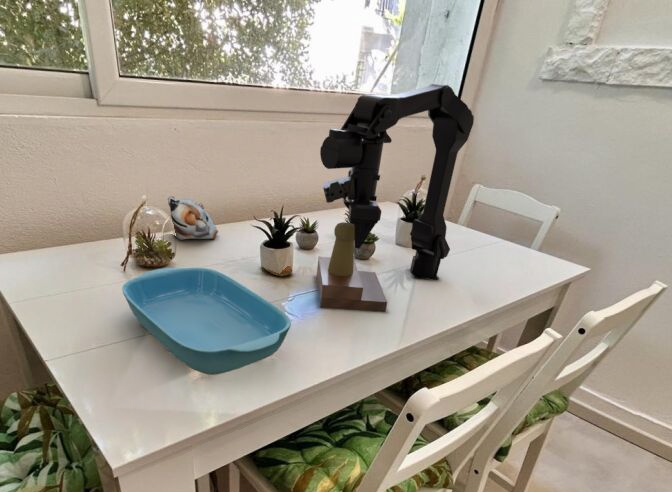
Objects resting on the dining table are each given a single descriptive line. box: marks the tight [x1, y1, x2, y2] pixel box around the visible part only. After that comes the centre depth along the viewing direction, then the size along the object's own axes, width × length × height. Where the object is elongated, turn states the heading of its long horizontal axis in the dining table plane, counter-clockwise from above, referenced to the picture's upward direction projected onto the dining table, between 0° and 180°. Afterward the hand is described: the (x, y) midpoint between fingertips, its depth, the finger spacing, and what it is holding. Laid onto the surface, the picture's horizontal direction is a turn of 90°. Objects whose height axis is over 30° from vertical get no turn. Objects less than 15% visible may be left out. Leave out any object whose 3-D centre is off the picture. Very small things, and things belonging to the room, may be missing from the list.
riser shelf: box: [315, 256, 388, 313], centre depth 110 cm, size 15×18×6 cm
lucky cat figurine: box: [167, 195, 219, 241], centre depth 132 cm, size 15×12×14 cm
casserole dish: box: [121, 267, 292, 376], centre depth 87 cm, size 37×22×7 cm, turn 41°
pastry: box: [264, 265, 293, 277], centre depth 119 cm, size 9×7×4 cm
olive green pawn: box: [328, 221, 355, 276], centre depth 105 cm, size 6×6×11 cm
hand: (355, 241), depth 105 cm, fingers open, 9 cm apart
